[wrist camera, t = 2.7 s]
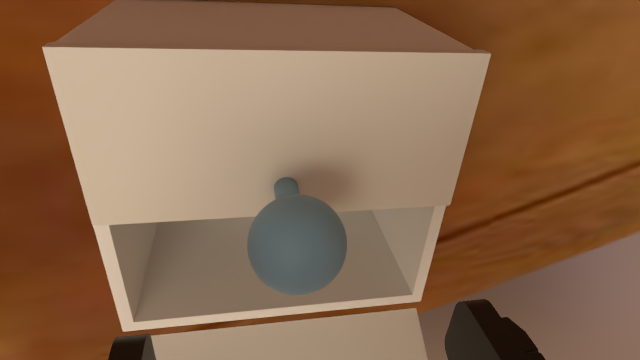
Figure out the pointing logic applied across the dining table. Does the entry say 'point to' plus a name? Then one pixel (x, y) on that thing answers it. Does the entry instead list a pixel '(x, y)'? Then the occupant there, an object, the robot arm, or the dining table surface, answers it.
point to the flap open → (304, 340)
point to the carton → (232, 233)
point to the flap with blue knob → (266, 138)
